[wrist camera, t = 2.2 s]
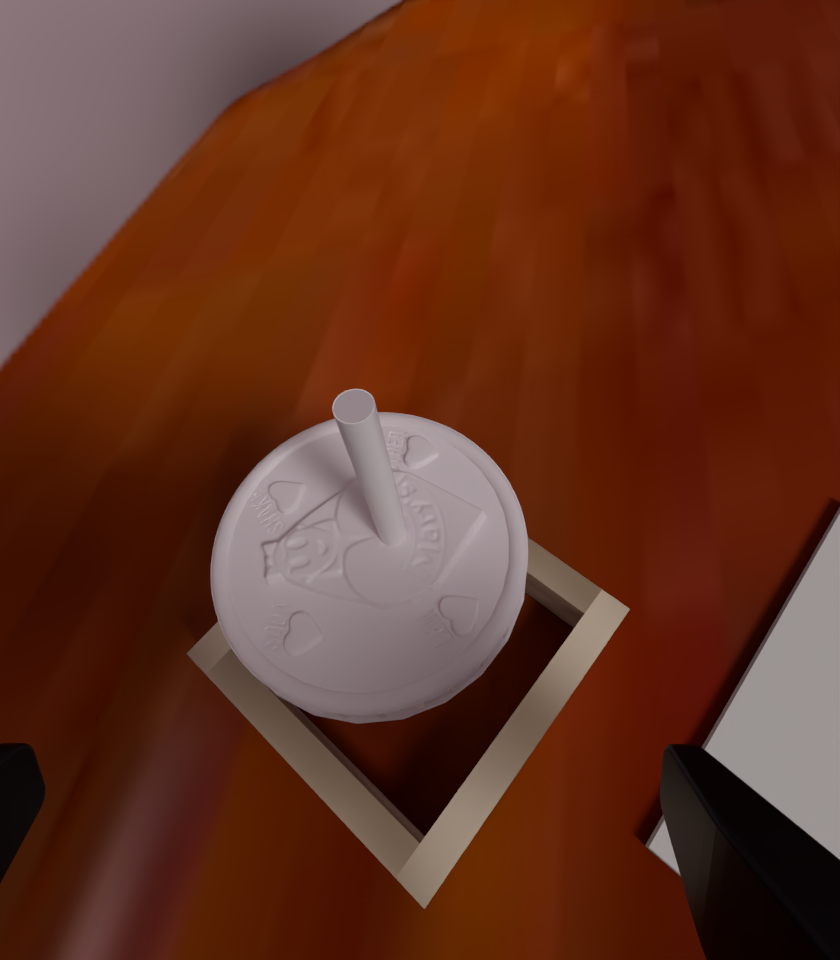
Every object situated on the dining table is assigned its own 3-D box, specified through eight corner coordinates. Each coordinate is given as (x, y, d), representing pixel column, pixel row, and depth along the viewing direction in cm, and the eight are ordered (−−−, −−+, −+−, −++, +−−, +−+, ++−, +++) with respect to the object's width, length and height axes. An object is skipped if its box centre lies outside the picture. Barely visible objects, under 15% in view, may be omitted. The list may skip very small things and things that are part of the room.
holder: (429, 894, 16) (424, 908, 14) (211, 664, 20) (186, 653, 18) (615, 624, 19) (630, 608, 17) (398, 468, 23) (392, 442, 21)
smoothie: (528, 720, 18) (656, 598, 6) (333, 768, 18) (29, 747, 5) (476, 540, 21) (487, 207, 9) (310, 579, 21) (80, 294, 9)
